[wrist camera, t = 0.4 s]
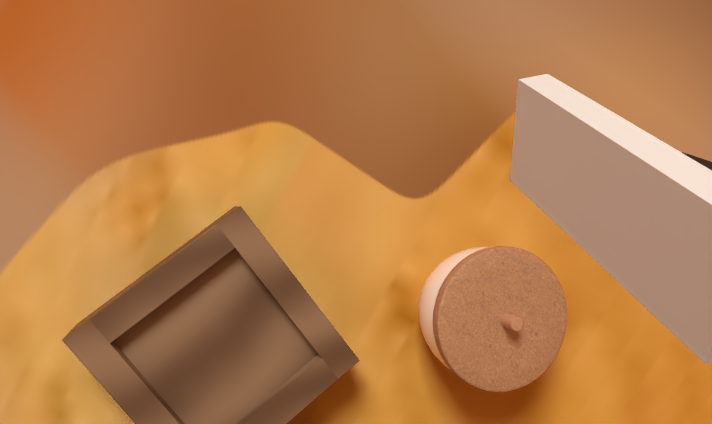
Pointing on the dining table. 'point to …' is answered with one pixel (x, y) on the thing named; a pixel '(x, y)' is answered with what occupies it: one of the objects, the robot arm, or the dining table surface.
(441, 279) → the lidded jar
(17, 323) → the dining table surface
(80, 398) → the dining table surface
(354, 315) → the dining table surface
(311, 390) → the walnut base
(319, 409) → the dining table surface
